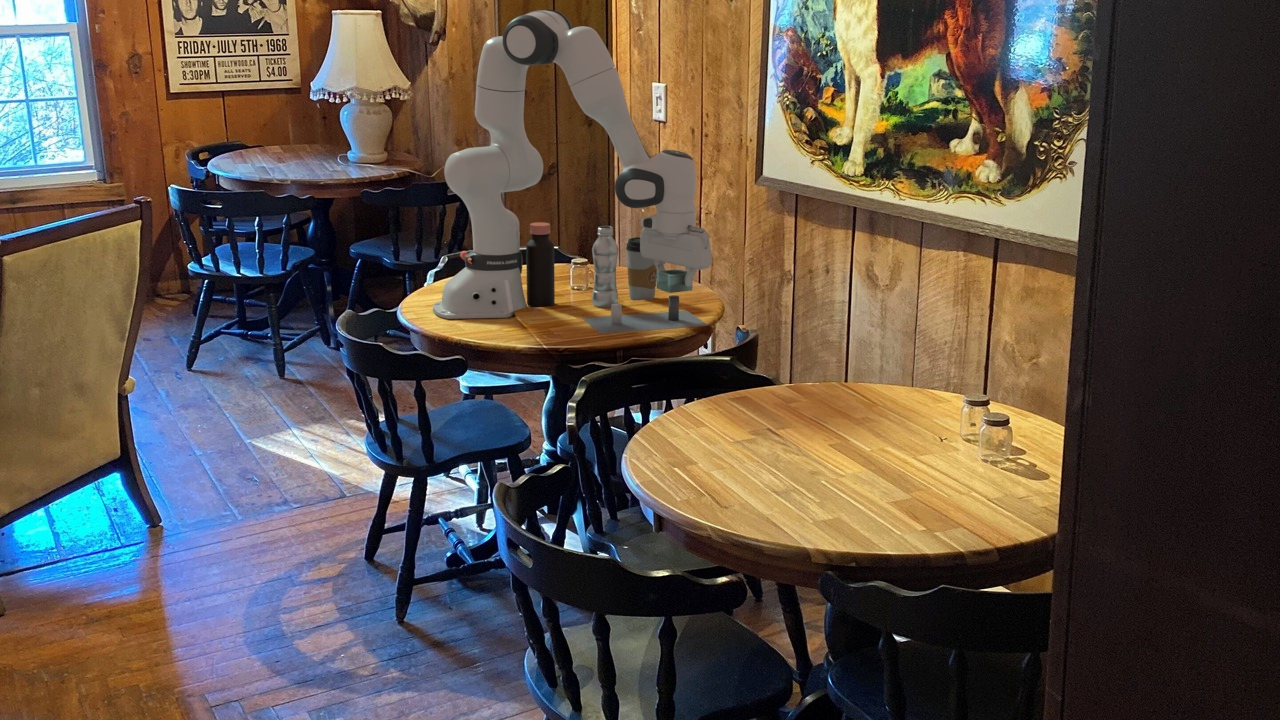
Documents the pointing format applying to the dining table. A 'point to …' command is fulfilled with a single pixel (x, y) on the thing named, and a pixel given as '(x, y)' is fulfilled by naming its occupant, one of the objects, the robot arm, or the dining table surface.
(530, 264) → the vinegar
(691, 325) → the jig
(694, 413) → the dining table surface
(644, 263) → the coffee cup
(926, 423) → the dining table surface
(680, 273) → the collar
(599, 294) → the plastic bottle
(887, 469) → the dining table surface
